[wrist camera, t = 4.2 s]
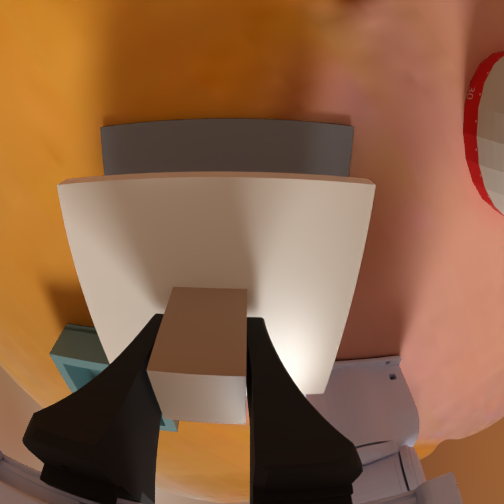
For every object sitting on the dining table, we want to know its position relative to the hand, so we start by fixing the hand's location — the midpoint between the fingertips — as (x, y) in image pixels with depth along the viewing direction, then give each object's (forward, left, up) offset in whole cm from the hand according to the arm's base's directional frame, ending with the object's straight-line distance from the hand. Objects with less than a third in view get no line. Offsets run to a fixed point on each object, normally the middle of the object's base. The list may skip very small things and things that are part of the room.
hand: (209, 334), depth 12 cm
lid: (0, 0, -2) cm, 2 cm away
